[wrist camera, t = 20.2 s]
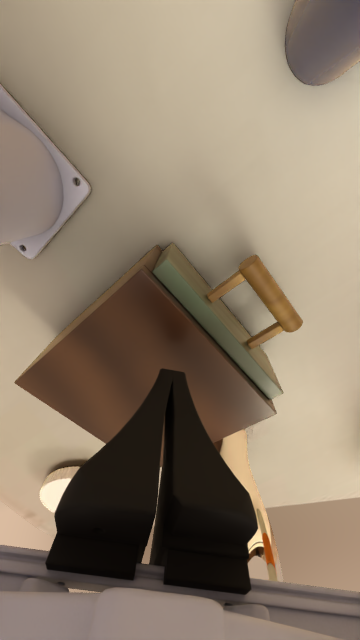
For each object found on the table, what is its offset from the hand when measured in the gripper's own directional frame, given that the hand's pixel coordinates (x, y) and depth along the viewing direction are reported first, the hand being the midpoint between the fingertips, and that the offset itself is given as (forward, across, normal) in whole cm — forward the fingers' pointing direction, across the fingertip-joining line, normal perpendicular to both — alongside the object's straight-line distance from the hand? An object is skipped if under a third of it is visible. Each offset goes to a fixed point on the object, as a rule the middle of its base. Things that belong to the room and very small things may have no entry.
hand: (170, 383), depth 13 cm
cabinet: (+9, +1, +5) cm, 11 cm away
